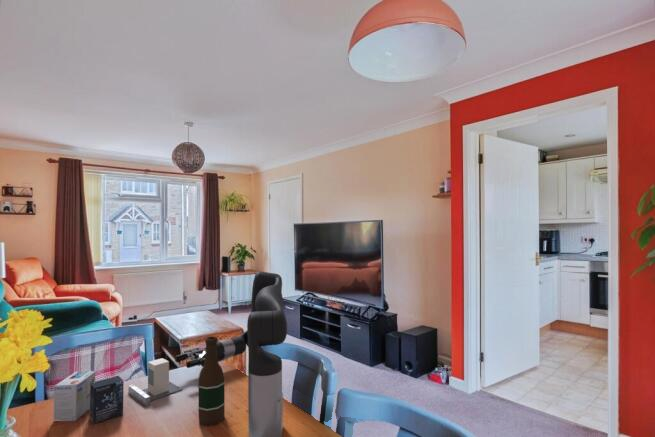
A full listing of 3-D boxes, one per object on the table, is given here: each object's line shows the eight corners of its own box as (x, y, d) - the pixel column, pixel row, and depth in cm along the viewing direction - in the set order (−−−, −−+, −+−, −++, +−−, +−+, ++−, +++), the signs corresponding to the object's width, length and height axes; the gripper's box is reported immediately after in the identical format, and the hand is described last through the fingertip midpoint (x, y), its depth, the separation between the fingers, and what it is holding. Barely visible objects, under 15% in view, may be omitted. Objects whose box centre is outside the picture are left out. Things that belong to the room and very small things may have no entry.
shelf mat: (169, 382, 136) (169, 381, 136) (182, 390, 129) (182, 389, 129) (134, 393, 127) (134, 392, 127) (146, 402, 120) (146, 401, 120)
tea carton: (168, 390, 128) (168, 361, 129) (153, 395, 124) (153, 365, 125) (162, 386, 132) (162, 358, 132) (147, 391, 128) (147, 362, 128)
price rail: (134, 391, 129) (134, 383, 129) (151, 403, 120) (151, 396, 120) (128, 393, 127) (128, 385, 128) (145, 405, 118) (145, 398, 118)
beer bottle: (203, 412, 114) (203, 333, 114) (228, 412, 113) (228, 334, 114) (193, 426, 106) (193, 341, 106) (220, 426, 106) (220, 341, 106)
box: (93, 424, 107) (94, 387, 107) (89, 417, 111) (89, 382, 111) (123, 415, 112) (124, 380, 113) (118, 408, 117) (118, 374, 117)
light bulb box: (74, 405, 119) (74, 371, 119) (96, 404, 120) (96, 370, 120) (52, 422, 109) (52, 385, 109) (76, 421, 109) (76, 384, 109)
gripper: (210, 337, 151) (171, 347, 139) (230, 344, 142) (190, 356, 130) (210, 356, 151) (171, 367, 139) (230, 364, 142) (190, 377, 130)
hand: (181, 362), depth 134 cm, fingers open, 8 cm apart
